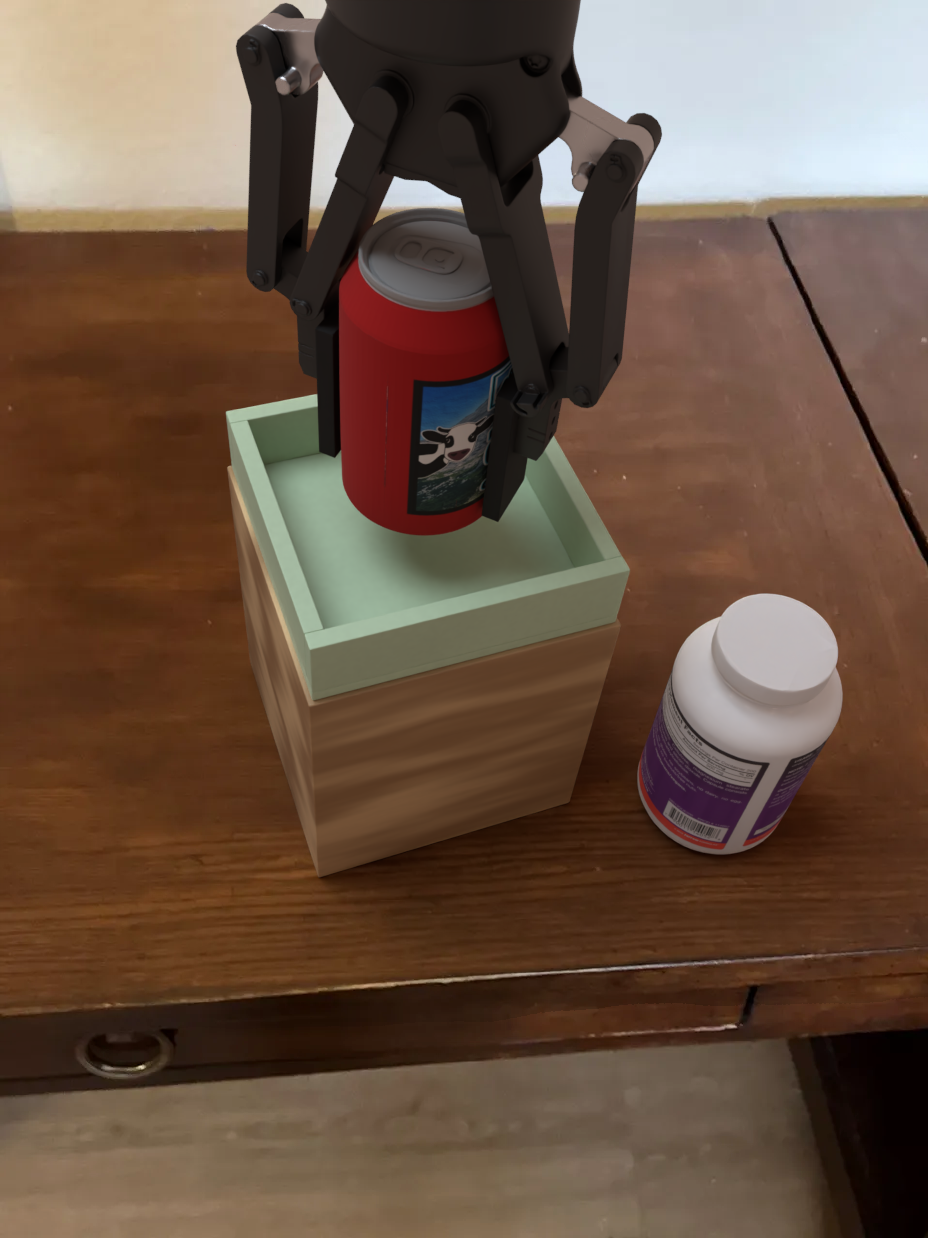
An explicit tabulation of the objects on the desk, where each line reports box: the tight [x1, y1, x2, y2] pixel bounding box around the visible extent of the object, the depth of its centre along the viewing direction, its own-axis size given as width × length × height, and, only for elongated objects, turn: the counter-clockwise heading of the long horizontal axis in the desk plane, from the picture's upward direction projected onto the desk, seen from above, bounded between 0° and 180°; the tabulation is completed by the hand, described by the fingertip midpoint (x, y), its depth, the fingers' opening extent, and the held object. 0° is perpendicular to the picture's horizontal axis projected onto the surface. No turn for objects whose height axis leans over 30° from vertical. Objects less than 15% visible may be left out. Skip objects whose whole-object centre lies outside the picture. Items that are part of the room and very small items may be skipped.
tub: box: [225, 393, 631, 700], centre depth 53 cm, size 14×14×4 cm
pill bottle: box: [636, 593, 844, 855], centre depth 60 cm, size 8×8×14 cm
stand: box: [226, 465, 622, 878], centre depth 61 cm, size 14×14×16 cm
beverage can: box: [339, 207, 513, 536], centre depth 47 cm, size 7×7×12 cm
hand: (421, 465), depth 51 cm, fingers closed on beverage can, 7 cm apart
